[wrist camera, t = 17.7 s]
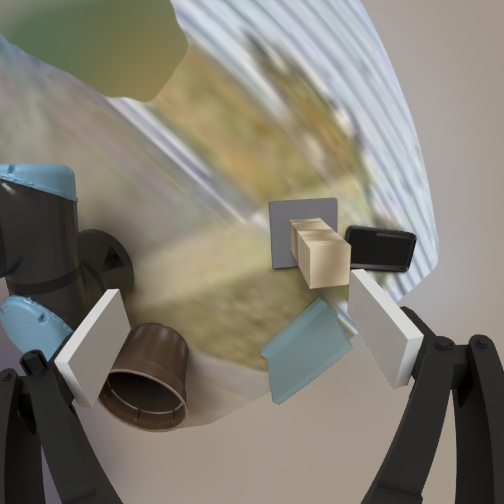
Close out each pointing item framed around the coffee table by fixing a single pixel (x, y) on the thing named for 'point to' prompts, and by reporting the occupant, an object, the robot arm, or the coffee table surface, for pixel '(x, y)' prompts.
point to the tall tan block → (320, 253)
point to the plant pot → (148, 380)
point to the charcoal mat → (295, 211)
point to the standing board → (304, 349)
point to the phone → (380, 248)
